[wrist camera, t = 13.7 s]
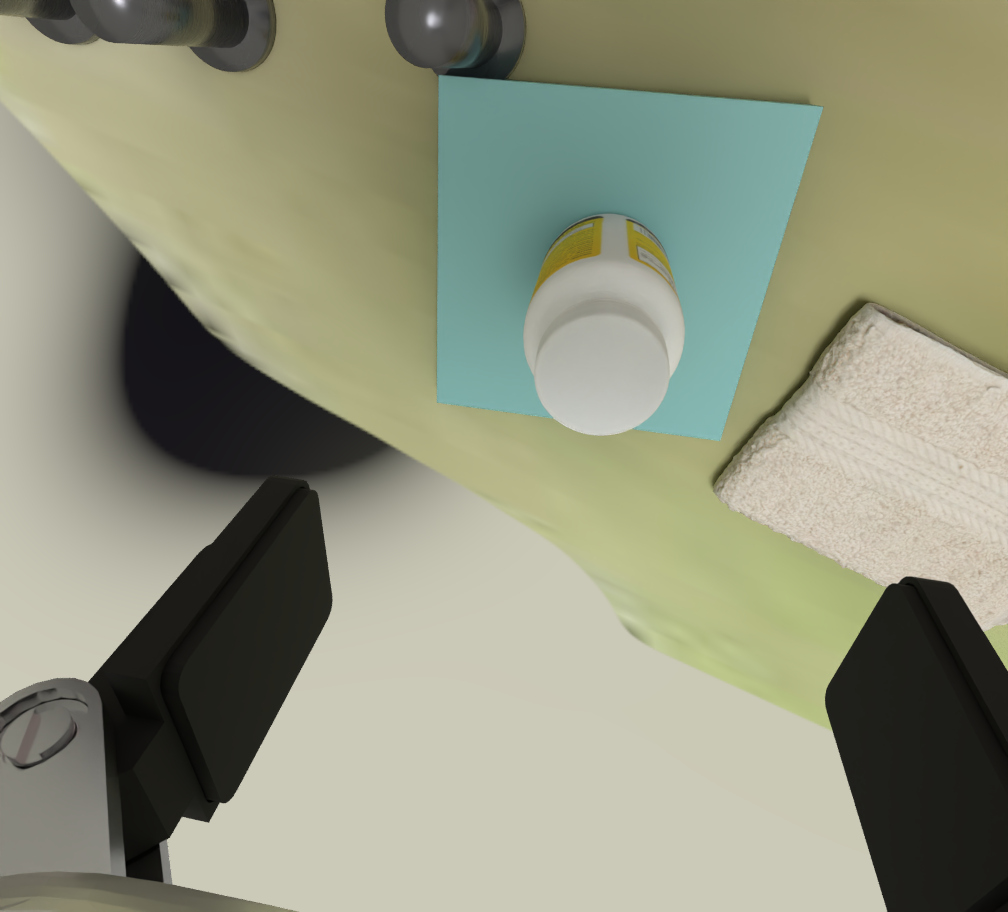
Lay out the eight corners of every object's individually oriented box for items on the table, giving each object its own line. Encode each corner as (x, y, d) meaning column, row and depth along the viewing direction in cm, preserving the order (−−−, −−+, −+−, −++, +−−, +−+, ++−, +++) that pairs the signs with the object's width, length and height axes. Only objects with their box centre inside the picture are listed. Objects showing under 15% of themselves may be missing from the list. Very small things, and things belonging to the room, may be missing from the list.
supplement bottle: (533, 327, 28) (499, 438, 19) (552, 201, 24) (520, 271, 16) (652, 347, 27) (667, 468, 19) (685, 222, 24) (721, 303, 16)
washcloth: (971, 610, 35) (999, 654, 32) (699, 481, 33) (706, 517, 30) (1182, 459, 28) (1238, 499, 26) (857, 288, 26) (883, 312, 24)
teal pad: (447, 74, 24) (438, 75, 23) (812, 104, 23) (823, 106, 21) (444, 389, 32) (437, 402, 30) (715, 425, 30) (719, 440, 29)
